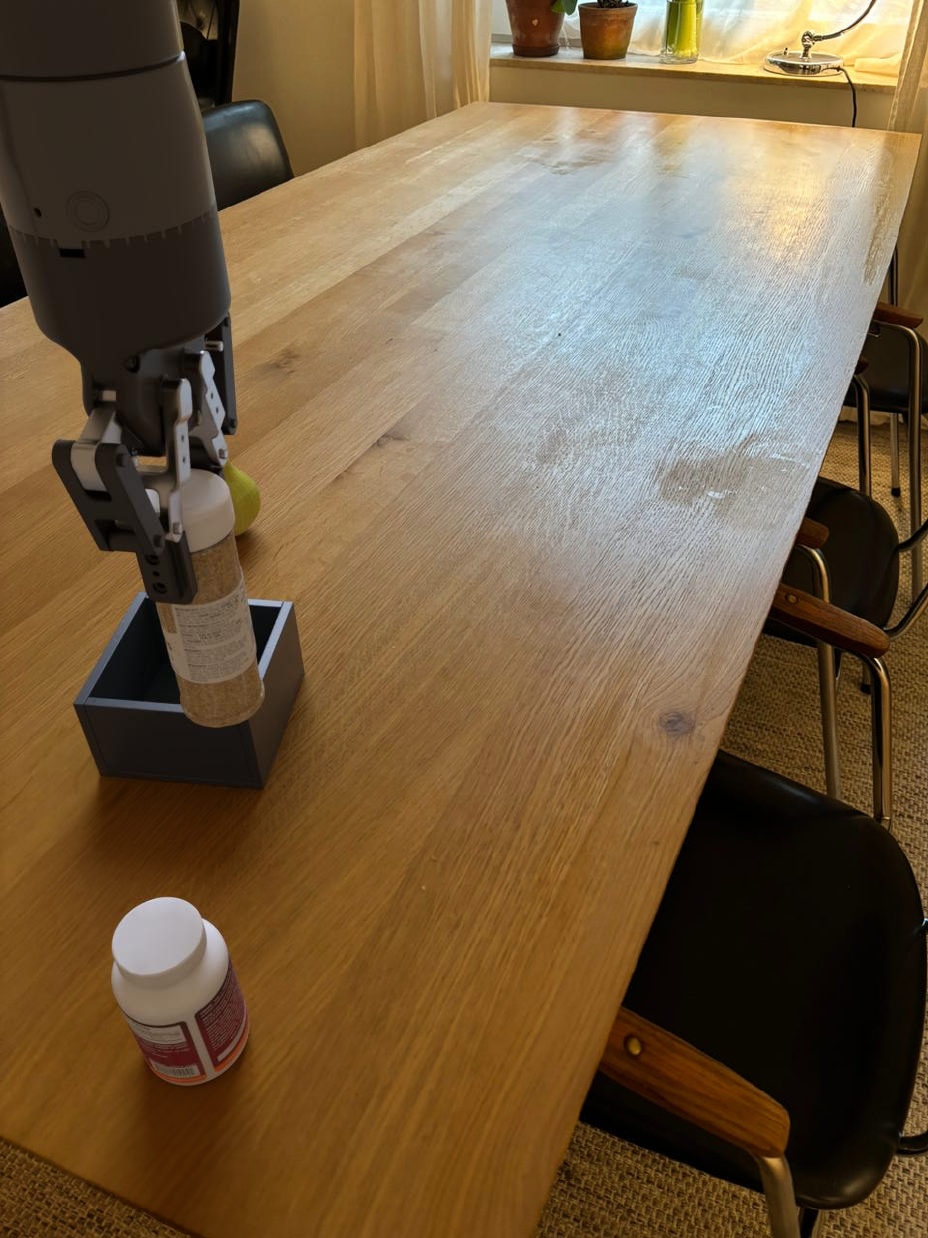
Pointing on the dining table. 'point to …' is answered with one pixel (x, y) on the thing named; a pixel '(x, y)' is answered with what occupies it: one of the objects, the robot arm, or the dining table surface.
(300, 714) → the dining table surface
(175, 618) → the sprinkles bottle
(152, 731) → the dark grey open box
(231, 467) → the fruit
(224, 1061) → the pill bottle
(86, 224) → the robot arm
